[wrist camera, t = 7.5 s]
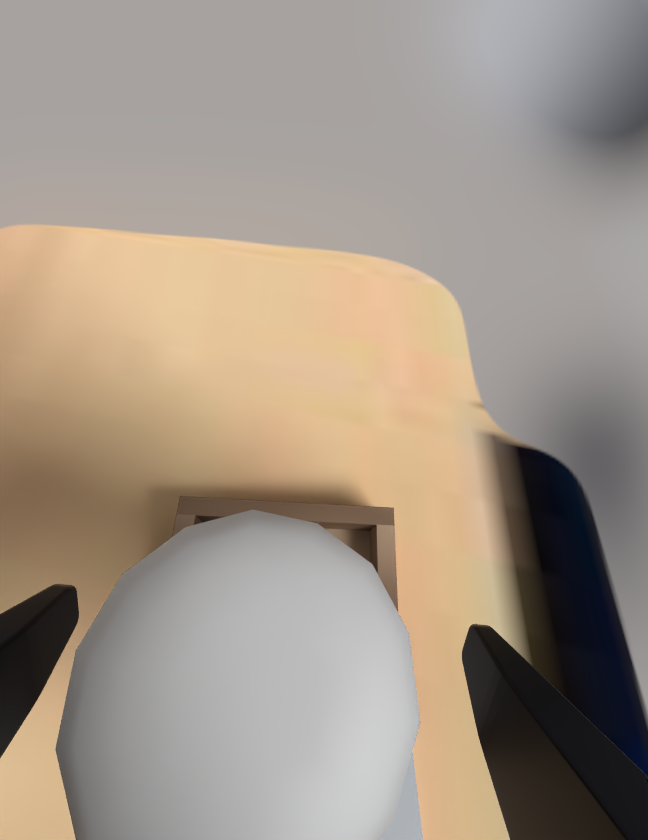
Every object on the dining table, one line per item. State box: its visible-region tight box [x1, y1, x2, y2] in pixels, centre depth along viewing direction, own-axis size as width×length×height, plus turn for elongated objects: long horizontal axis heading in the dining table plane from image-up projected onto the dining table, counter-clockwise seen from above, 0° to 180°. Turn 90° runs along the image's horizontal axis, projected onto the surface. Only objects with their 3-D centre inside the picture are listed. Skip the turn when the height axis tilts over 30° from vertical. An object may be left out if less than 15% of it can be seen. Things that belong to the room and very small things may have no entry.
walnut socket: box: [172, 496, 398, 611], centre depth 16 cm, size 9×9×2 cm
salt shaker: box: [56, 510, 420, 840], centre depth 10 cm, size 6×6×13 cm
